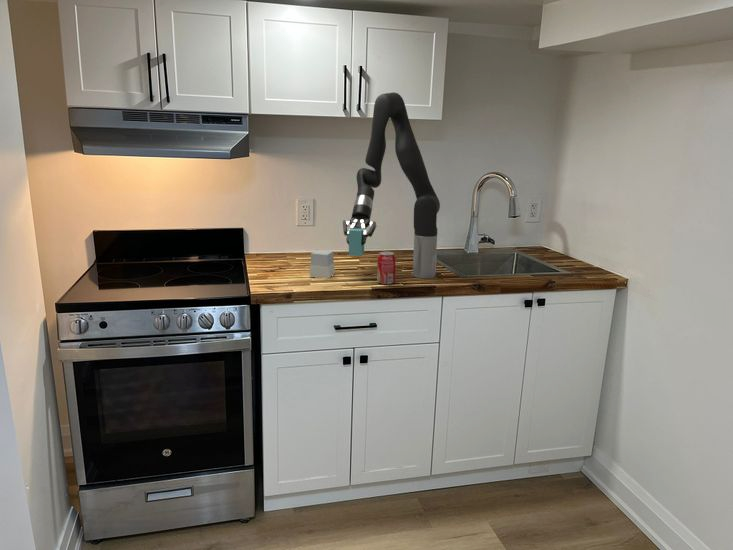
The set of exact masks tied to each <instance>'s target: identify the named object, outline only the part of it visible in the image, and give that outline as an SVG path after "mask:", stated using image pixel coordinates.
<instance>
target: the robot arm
mask: <svg viewBox="0 0 733 550" xmlns="http://www.w3.org/2000/svg"><path fill="white" fill-rule="evenodd" d="M372 113H373V114H372V123H371V124H372V125H371V134H370V139H369V144H368V148H367V153H366V155H365V161H364V162H365V164H367V165H368V166H369V167H371V168H372V169H370V168H366V167H361V168H360V169H358V171H357V173H356V184H357V193H356V196H355V197H356V198H355V200H354V203H353V208H352V211H351V218H350V220H348V221H347V220H345V219H344V220H342V232H343V235H344V236H345V237H346V239H345V240H346V243H347V245H348V246H349V230H350V229H354V228H358V229H364V230H363V236H362V241H361V244H362V245H364V246H365V244H366V242H367V238H368V237H370V238H372V237H373V235H374V232H375V230H376V228H377V223H376V221H371V218H372V217H371V216H372V211H373V206H374V205H373V202H374V198H375V189H376V188H379V187H380V185H381V183H382V165H383V161H384V160H383V159H384V156H385V153H386V148H387V141H386V128H387V125H388V123H389V120H391V122H392V125H393V128H394V132H395V139H394V140H395V143H394V145H395V147H394V148H395V155H396V157H397V161H398V163H399V166H400V168H401V170H402V171H403V173H404V175H405V177H406V178H407V180H408V181H409V183H410V184H411V186H412V189H413V191H414V194H415V198H416V199H415V200H416V201H415V202H414V206H413V231H414V232H413V233H414V234H413V235H414V237H413V257H412V258H413V259H412V276H413V277H415V278H418V279H435V278H436V275H437V260H438V259H437V257H438V254H437V247H438V246H437V245H438V227H437V217H438V216H437V215H438V213H439V211H440V208H441V203H440V199H439V198H438V195H437V193H436V192H435V190H434V188H433V185H432V184H431V181H430V178H429V175H428V171H427V169H426V166H425V162H424V158H423V156H422V152H421V151H420V147H419V145H418V142H417V141H416V137H415V134H414V131H413V128H412V126H411V123H410V119H409V115H408V112H407V108H406V105H405V101H404V99H403V97H402V95H400V93H398V92H386V93H382V94H379V95H378V96H377V97H376V98H375V101H374V105H373V112H372ZM349 225H350V226H349ZM369 226H370V227H369ZM348 227H349V229H348ZM368 227H369V229H368V231H367V230H366V229H367V228H368Z"/></svg>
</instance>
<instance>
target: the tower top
mask: <svg viewBox="0 0 733 550" xmlns="http://www.w3.org/2000/svg"><path fill="white" fill-rule="evenodd" d="M333 263H334V250H333V251H332V250H322V249H316V250H314V251H313V252H311V253H310V265H311V266H321V267H328V266H330V265H331V264H333Z"/></svg>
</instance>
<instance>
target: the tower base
mask: <svg viewBox="0 0 733 550" xmlns="http://www.w3.org/2000/svg"><path fill="white" fill-rule="evenodd" d="M335 265H336V264H335V262H333V264H331V265H330V266H328V267H321V266H311V264H310V265H309V278H310V277H315V278H314V279H321V278H327V279H326V280H329V278H330V277H331V276H332V275H333V276H334V275H335ZM333 276H332V277H333ZM332 277H331V278H332ZM331 278H330V279H331Z"/></svg>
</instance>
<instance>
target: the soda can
mask: <svg viewBox="0 0 733 550" xmlns="http://www.w3.org/2000/svg"><path fill="white" fill-rule="evenodd" d="M396 260H397V259H396V256H395V253H394V252H393V251H379V254H378V256H377V263H376V264H377V265H376V266H377V268H376V270H377V271H376V272H377V273H376V274H377V275H376V279H377V280H376V281H377V283H379V284H380V283H381V284H380V285H384V284H390V285H393V283H395V282H396V281H395V280H396V268H397V267H396V265H397V264H396V262H397V261H396Z"/></svg>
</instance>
